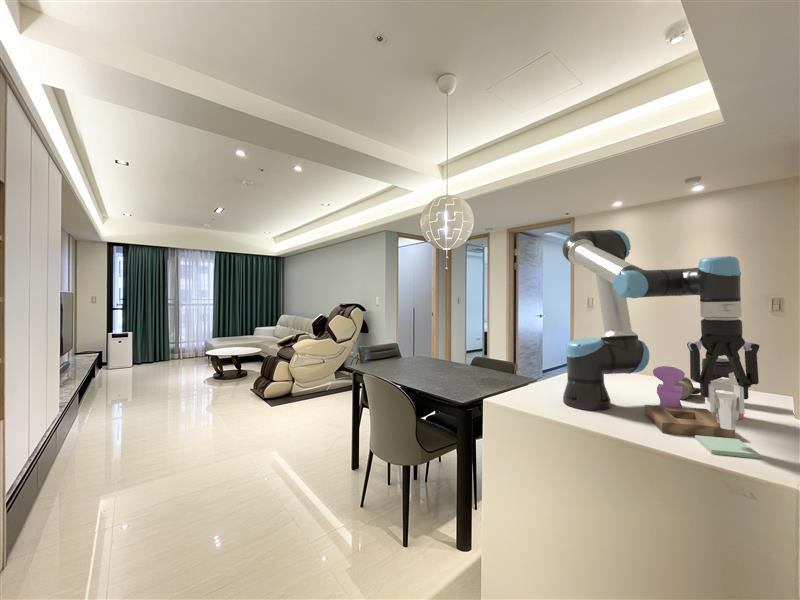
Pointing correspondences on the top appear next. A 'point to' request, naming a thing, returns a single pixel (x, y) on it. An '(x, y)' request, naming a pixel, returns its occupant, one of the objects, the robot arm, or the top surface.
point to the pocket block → (686, 421)
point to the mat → (726, 446)
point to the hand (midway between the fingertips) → (724, 410)
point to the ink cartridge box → (726, 388)
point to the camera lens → (720, 369)
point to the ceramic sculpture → (687, 388)
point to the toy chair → (669, 385)
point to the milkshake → (725, 409)
